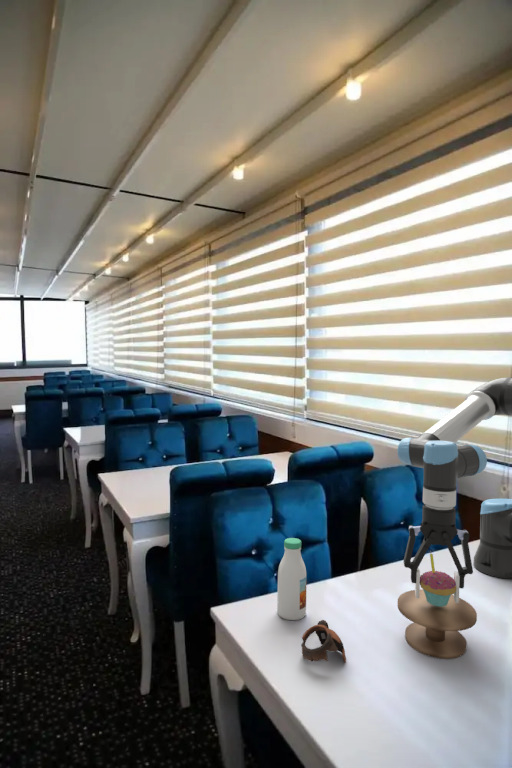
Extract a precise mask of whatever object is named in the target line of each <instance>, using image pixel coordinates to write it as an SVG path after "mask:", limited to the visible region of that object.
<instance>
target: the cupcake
mask: <svg viewBox="0 0 512 768" xmlns="http://www.w3.org/2000/svg"><path fill="white" fill-rule="evenodd" d="M429 557H430V558H429V559H430V565H431V570H429V571H426V572H423V573H422V574H420V588H421V589H423V590H424V593H425V596H426V599H427V602H428V603H430V604H432V605H434V606H440V607H441V606H446V605H447V604H448V601H449V598H450V596H451V595H454V593H455V592H456V589H457V588H456V583H455V580H454V577H452V576H451V575H449V574H448V573H446V572H443V571H439V570H436V569H435V562H434V561H435V560H434V554H433V553H432V551H431V550H429Z"/></svg>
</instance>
